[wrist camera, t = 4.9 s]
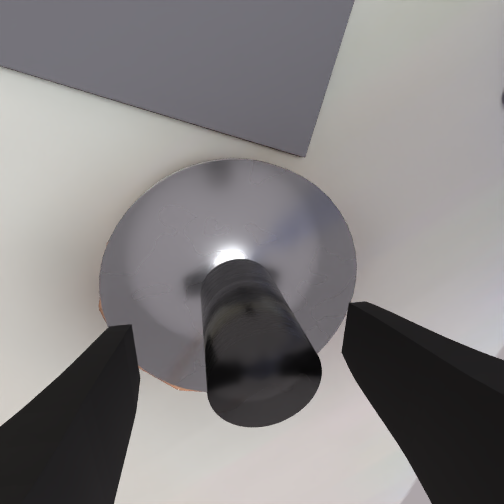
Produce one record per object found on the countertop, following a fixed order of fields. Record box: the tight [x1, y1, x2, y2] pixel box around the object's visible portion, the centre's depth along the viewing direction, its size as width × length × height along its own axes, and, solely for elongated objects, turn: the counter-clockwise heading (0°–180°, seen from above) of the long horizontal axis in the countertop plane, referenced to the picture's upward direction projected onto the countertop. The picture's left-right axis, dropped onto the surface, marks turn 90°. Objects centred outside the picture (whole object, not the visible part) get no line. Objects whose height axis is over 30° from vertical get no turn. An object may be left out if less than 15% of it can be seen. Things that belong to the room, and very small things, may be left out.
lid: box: [99, 158, 356, 427], centre depth 10 cm, size 10×10×5 cm
